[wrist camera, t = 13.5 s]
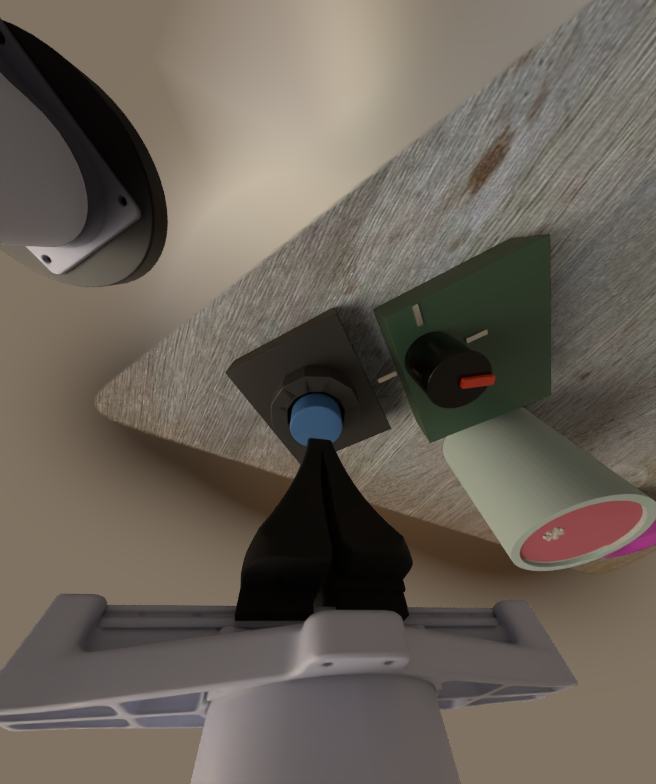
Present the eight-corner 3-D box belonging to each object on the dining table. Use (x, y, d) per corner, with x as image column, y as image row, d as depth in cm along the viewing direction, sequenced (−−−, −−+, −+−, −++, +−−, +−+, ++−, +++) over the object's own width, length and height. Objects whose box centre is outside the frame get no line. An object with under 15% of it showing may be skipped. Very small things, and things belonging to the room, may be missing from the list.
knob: (403, 383, 17) (426, 415, 14) (405, 335, 15) (433, 358, 12) (451, 376, 17) (488, 407, 14) (460, 327, 15) (504, 349, 12)
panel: (349, 321, 18) (356, 333, 15) (511, 237, 16) (553, 233, 13) (398, 429, 23) (409, 452, 21) (522, 379, 21) (553, 396, 18)
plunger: (282, 405, 17) (279, 420, 15) (326, 384, 16) (328, 397, 15) (306, 438, 19) (306, 454, 17) (348, 421, 18) (351, 436, 16)
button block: (233, 360, 19) (215, 384, 15) (333, 306, 17) (339, 319, 14) (302, 449, 24) (300, 482, 20) (384, 414, 22) (397, 443, 19)
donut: (552, 537, 36) (582, 572, 32) (578, 495, 31) (617, 530, 27) (621, 527, 36) (659, 561, 32) (658, 483, 30) (710, 517, 27)
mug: (424, 449, 25) (485, 552, 16) (499, 386, 21) (626, 473, 13) (497, 493, 30) (574, 591, 21) (568, 447, 26) (696, 541, 17)
